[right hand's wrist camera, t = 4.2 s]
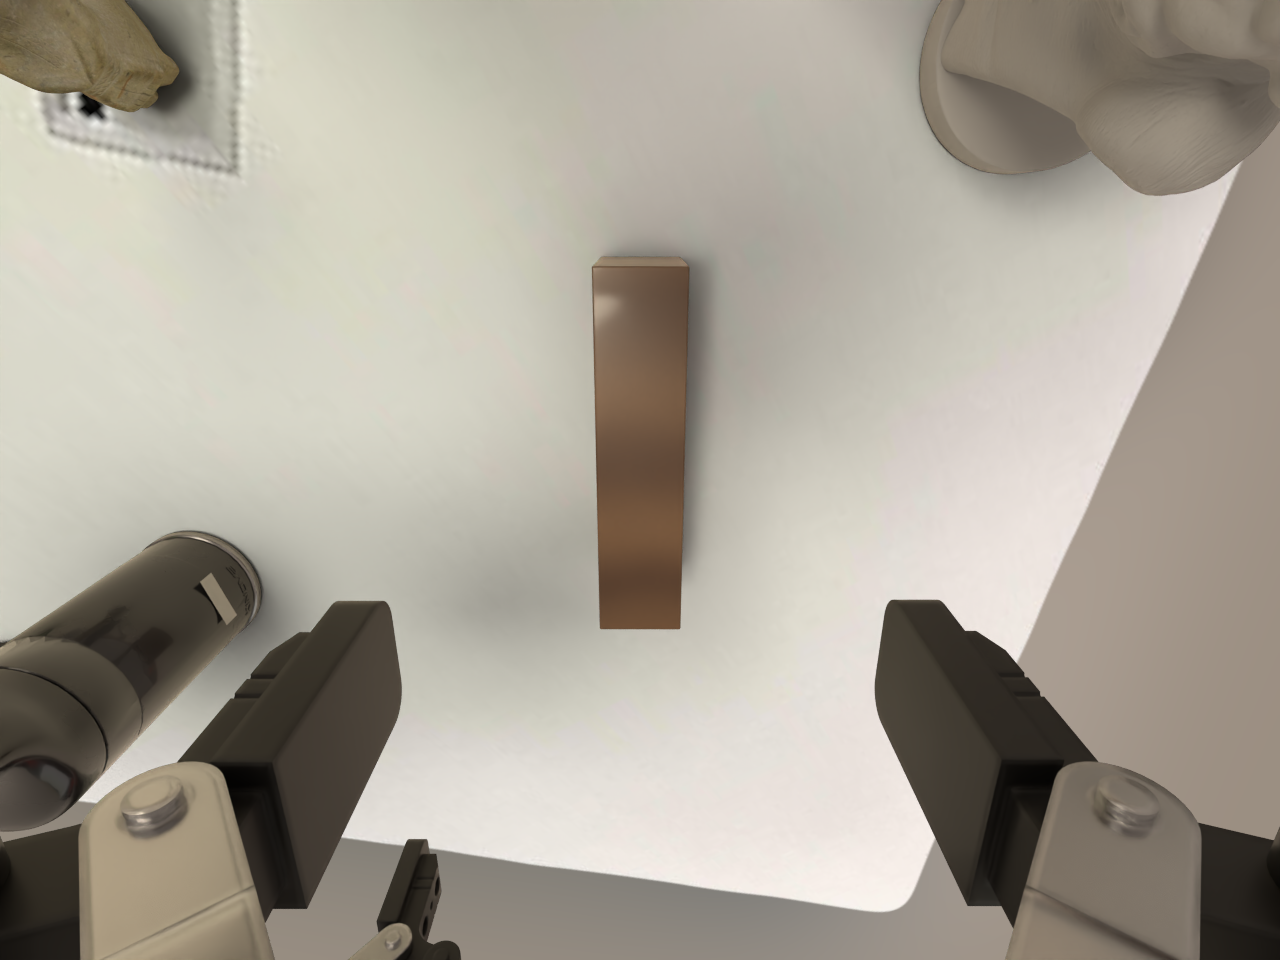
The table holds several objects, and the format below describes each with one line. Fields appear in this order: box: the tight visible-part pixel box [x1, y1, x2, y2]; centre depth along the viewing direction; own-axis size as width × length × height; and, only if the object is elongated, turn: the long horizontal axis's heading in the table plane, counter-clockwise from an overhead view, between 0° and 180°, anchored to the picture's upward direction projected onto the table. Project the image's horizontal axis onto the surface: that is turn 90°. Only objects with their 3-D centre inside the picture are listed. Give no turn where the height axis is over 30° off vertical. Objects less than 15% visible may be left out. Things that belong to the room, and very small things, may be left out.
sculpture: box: [0, 0, 179, 112], centre depth 36 cm, size 6×7×15 cm
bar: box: [592, 257, 689, 629], centre depth 47 cm, size 23×5×9 cm, turn 0°
